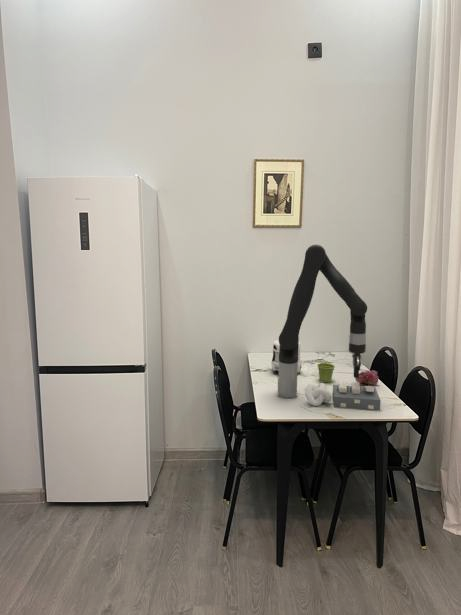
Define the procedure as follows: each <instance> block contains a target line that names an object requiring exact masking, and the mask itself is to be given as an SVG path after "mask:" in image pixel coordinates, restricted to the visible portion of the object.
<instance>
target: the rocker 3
mask: <svg viewBox="0 0 461 615" xmlns="http://www.w3.org/2000/svg"><path fill="white" fill-rule="evenodd" d="M363 387H365V391H370V392H374V388H373V386H369V385H364V386H363Z"/></svg>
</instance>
